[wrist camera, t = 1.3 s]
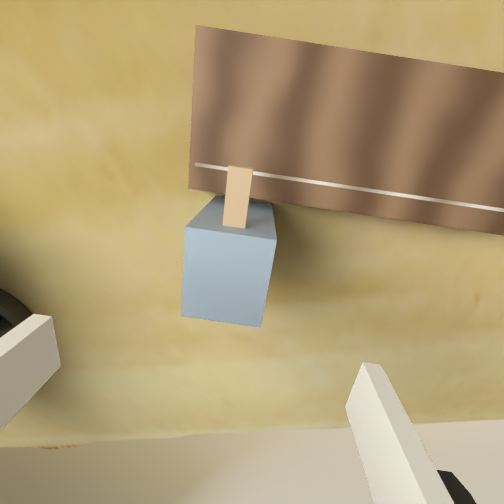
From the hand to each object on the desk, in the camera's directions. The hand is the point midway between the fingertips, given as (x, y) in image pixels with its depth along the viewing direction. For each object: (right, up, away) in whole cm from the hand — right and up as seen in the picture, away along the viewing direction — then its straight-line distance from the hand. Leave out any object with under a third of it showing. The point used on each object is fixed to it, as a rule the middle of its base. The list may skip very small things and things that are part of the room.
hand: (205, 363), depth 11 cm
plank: (+12, +15, +14) cm, 24 cm away
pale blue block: (+1, +9, +17) cm, 20 cm away
